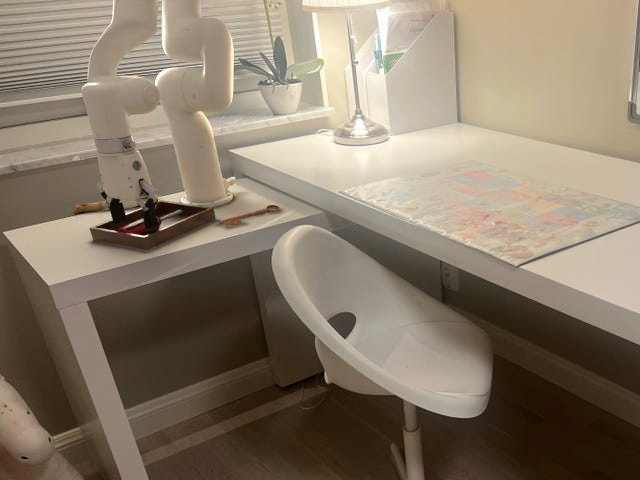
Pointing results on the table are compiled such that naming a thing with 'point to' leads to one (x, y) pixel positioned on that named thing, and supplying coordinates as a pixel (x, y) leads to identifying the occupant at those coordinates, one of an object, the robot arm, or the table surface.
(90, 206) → the paintbrush
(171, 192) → the table surface
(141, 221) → the screwdriver
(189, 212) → the wooden tray
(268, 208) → the key
